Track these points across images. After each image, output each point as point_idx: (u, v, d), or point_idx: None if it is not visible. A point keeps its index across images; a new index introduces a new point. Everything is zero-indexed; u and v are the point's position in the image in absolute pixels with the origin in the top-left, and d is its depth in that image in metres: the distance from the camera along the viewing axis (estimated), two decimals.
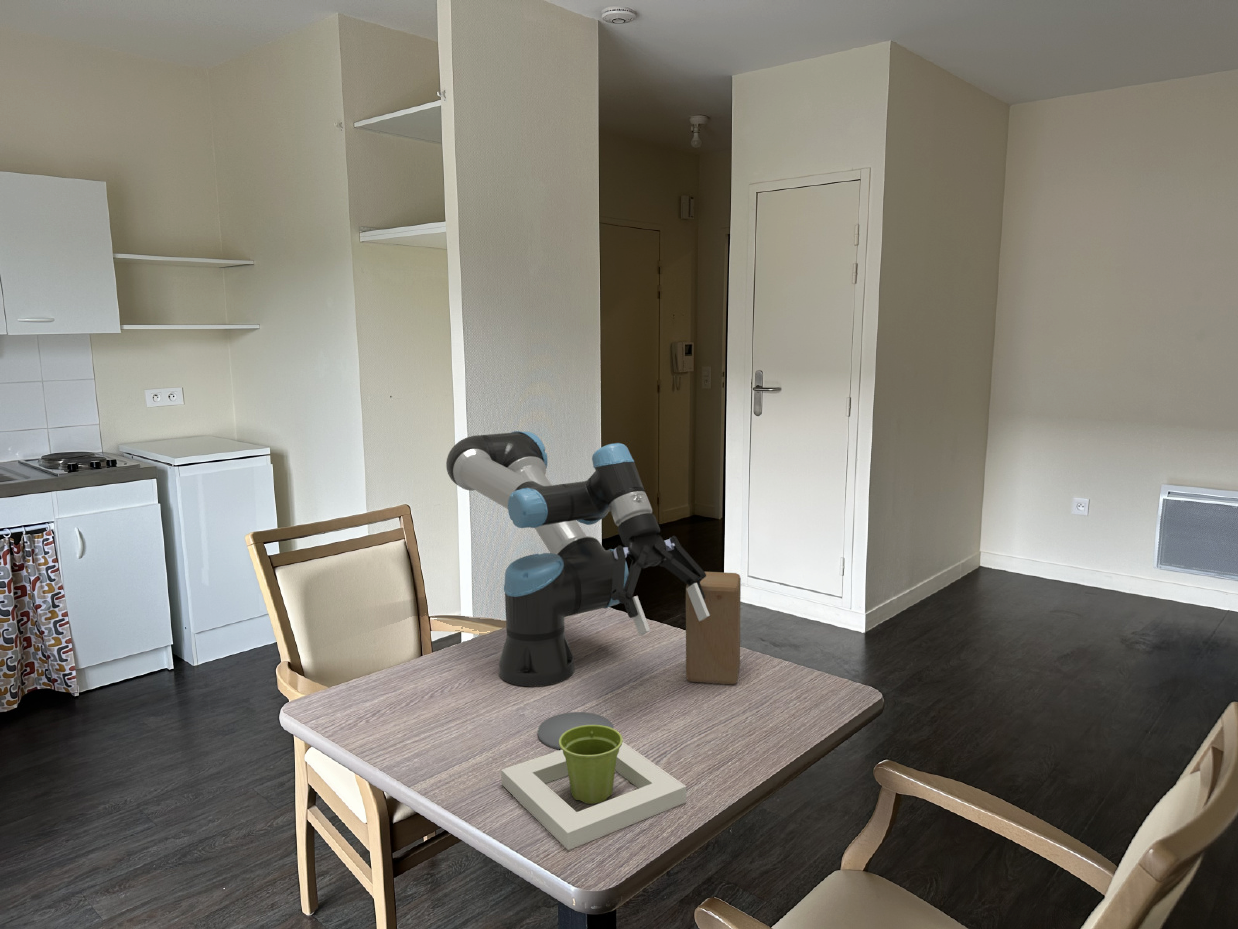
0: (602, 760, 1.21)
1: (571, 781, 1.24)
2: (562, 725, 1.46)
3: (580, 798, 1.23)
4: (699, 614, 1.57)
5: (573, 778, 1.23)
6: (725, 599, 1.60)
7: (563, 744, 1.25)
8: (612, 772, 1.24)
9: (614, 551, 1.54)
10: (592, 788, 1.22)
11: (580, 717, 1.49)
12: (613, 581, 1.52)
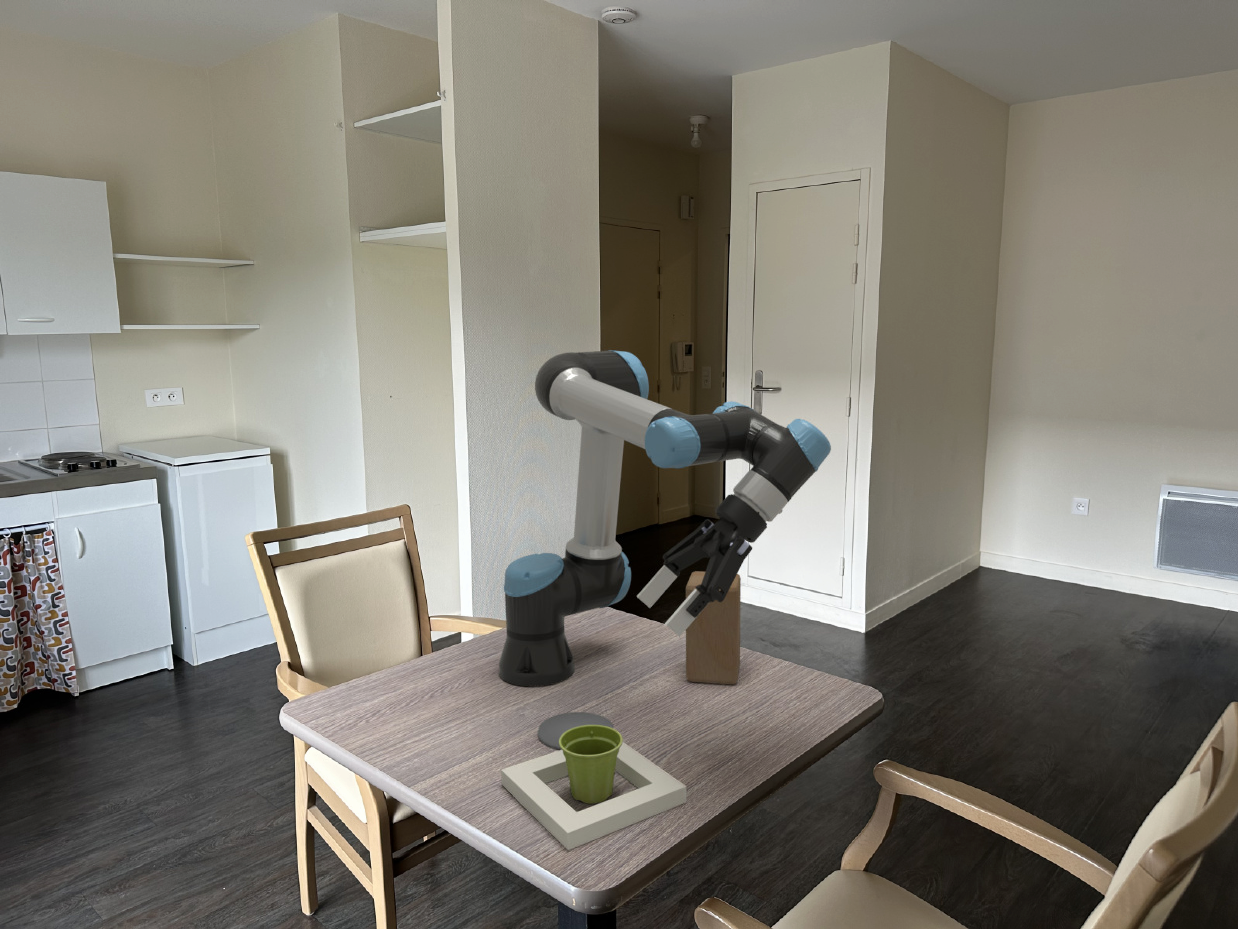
0: (602, 760, 1.21)
1: (571, 781, 1.24)
2: (562, 725, 1.46)
3: (580, 798, 1.23)
4: (646, 596, 1.31)
5: (573, 778, 1.23)
6: (725, 599, 1.60)
7: (563, 744, 1.25)
8: (612, 772, 1.24)
9: (746, 545, 1.20)
10: (592, 788, 1.22)
11: (580, 717, 1.49)
12: (723, 574, 1.17)
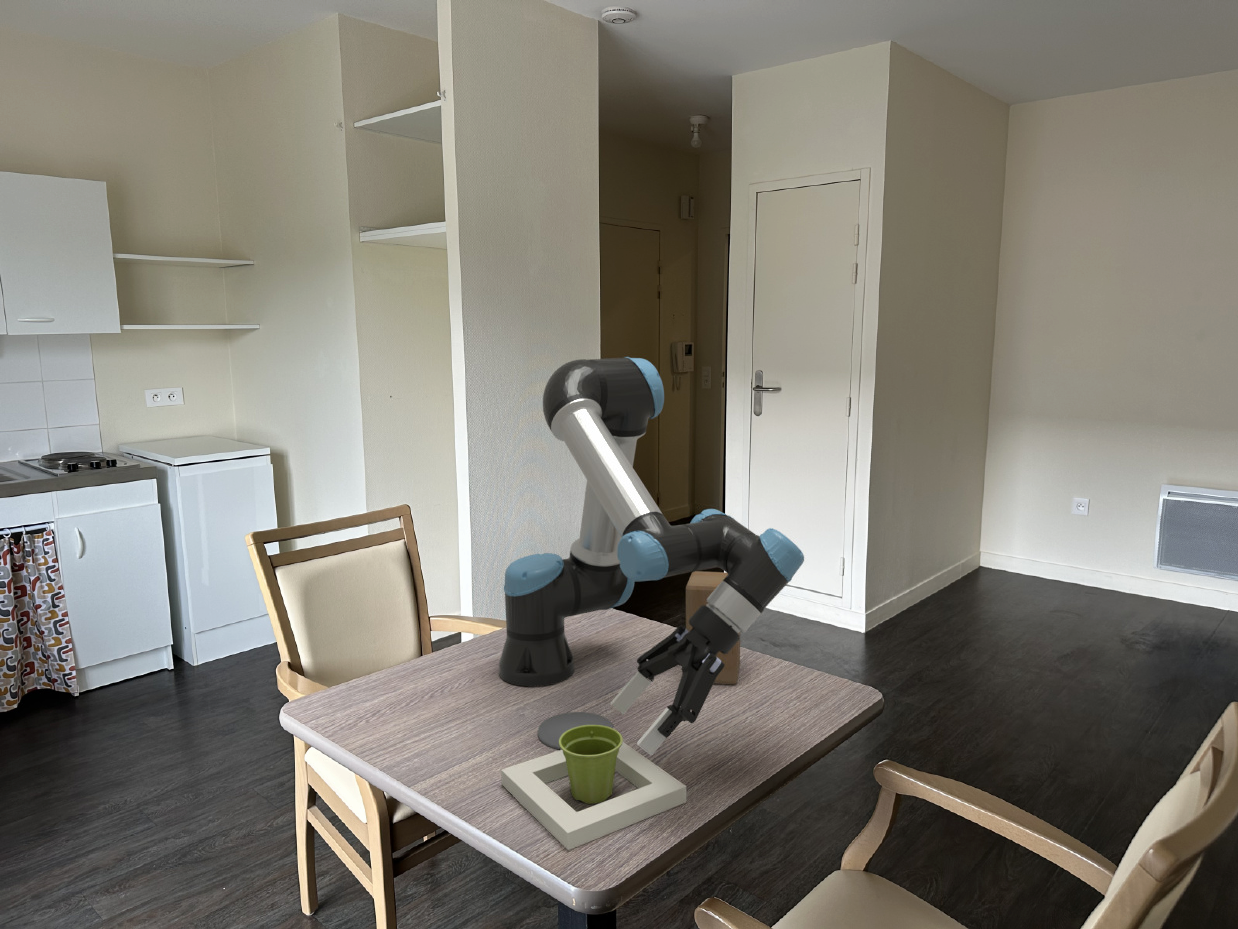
0: (602, 760, 1.21)
1: (571, 781, 1.24)
2: (562, 725, 1.46)
3: (580, 798, 1.23)
4: (619, 703, 1.31)
5: (573, 778, 1.23)
6: None
7: (563, 744, 1.25)
8: (612, 772, 1.24)
9: (718, 663, 1.20)
10: (592, 788, 1.22)
11: (580, 717, 1.49)
12: (695, 694, 1.17)
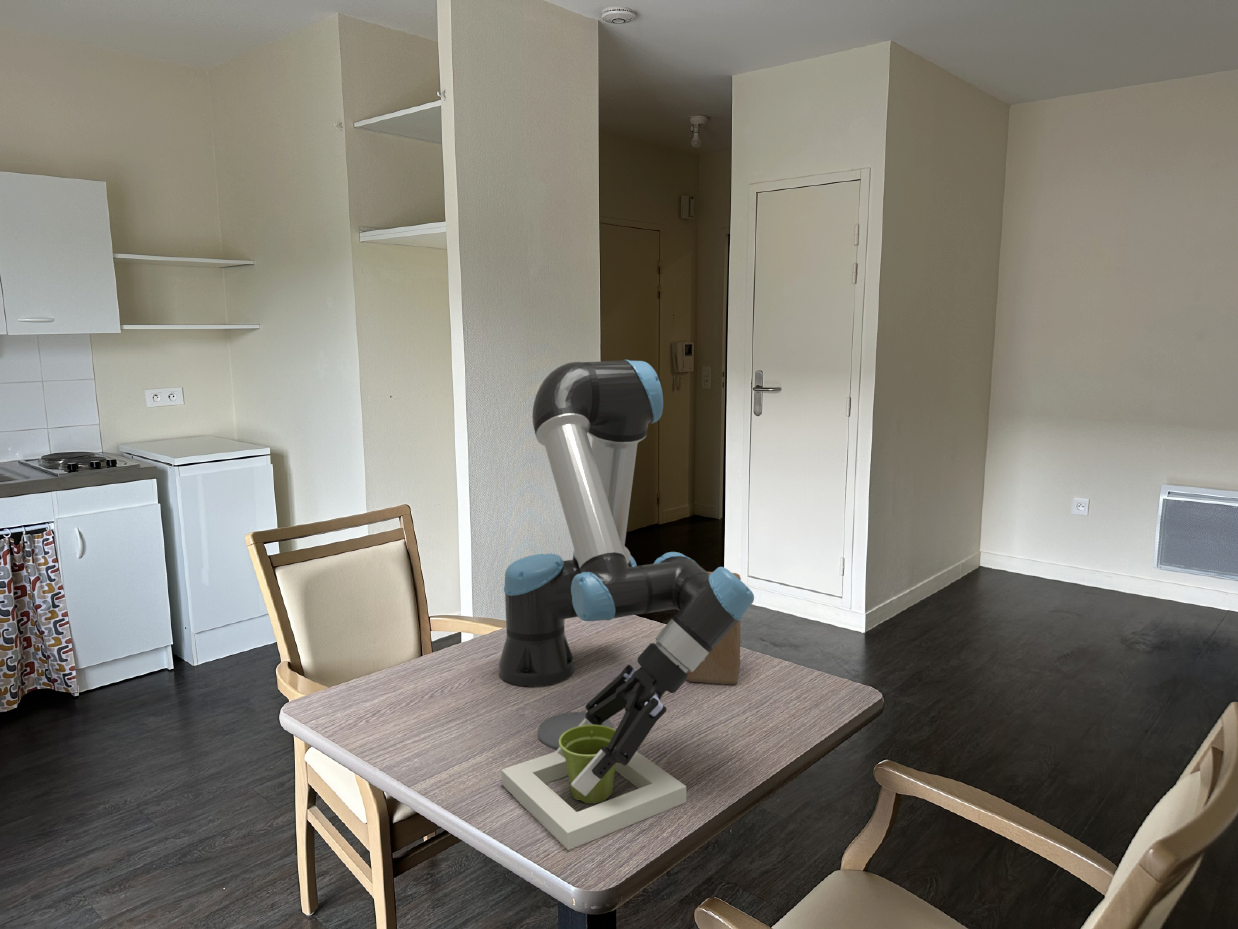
0: None
1: (571, 781, 1.24)
2: (562, 725, 1.46)
3: (580, 798, 1.23)
4: None
5: (573, 778, 1.23)
6: None
7: (563, 744, 1.25)
8: (612, 772, 1.24)
9: (659, 708, 1.19)
10: None
11: (580, 717, 1.49)
12: (630, 738, 1.18)
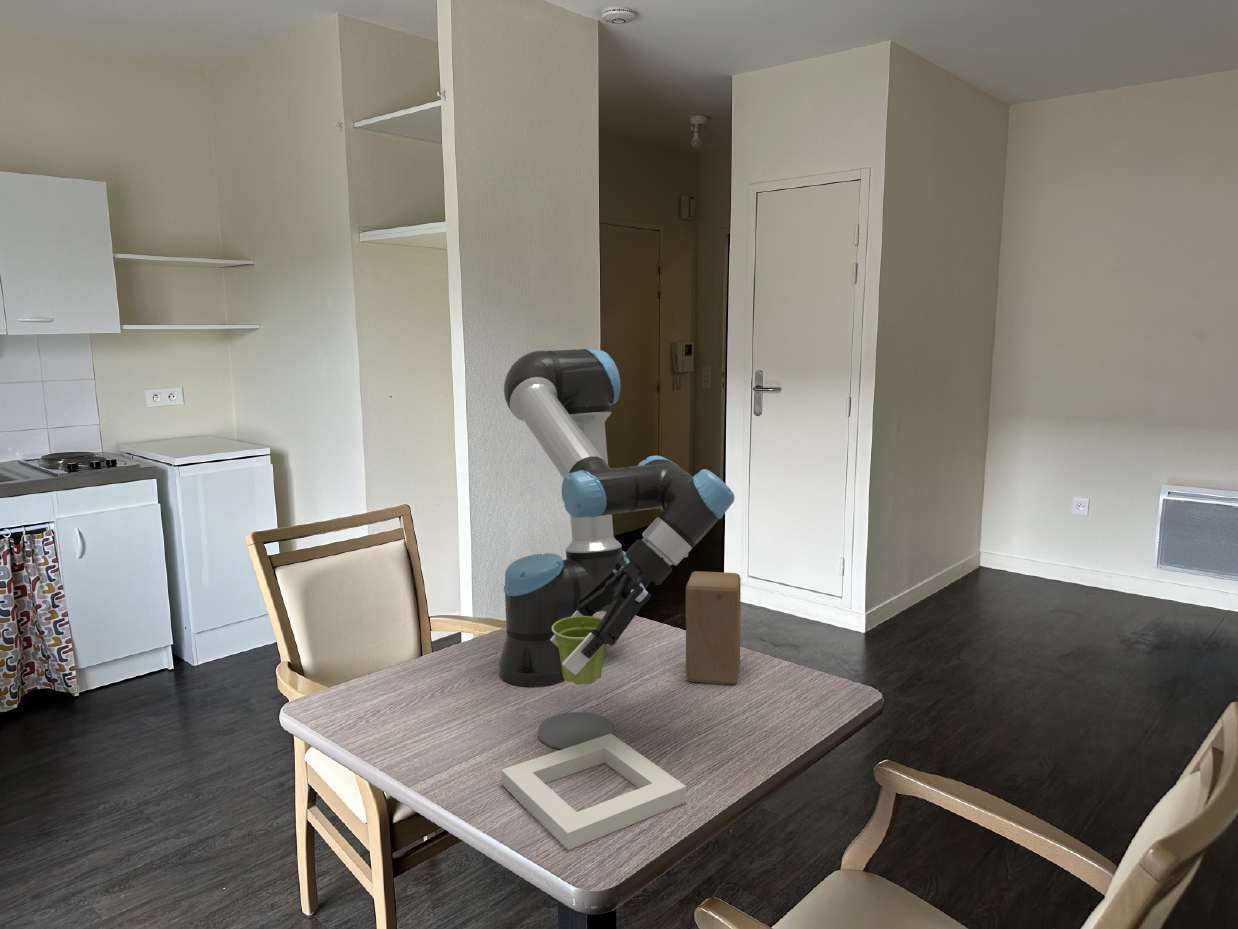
0: None
1: None
2: (562, 725, 1.46)
3: (571, 679, 1.33)
4: None
5: None
6: (725, 599, 1.60)
7: (556, 631, 1.35)
8: (601, 656, 1.34)
9: (644, 594, 1.29)
10: (582, 669, 1.32)
11: (580, 717, 1.49)
12: (617, 621, 1.28)
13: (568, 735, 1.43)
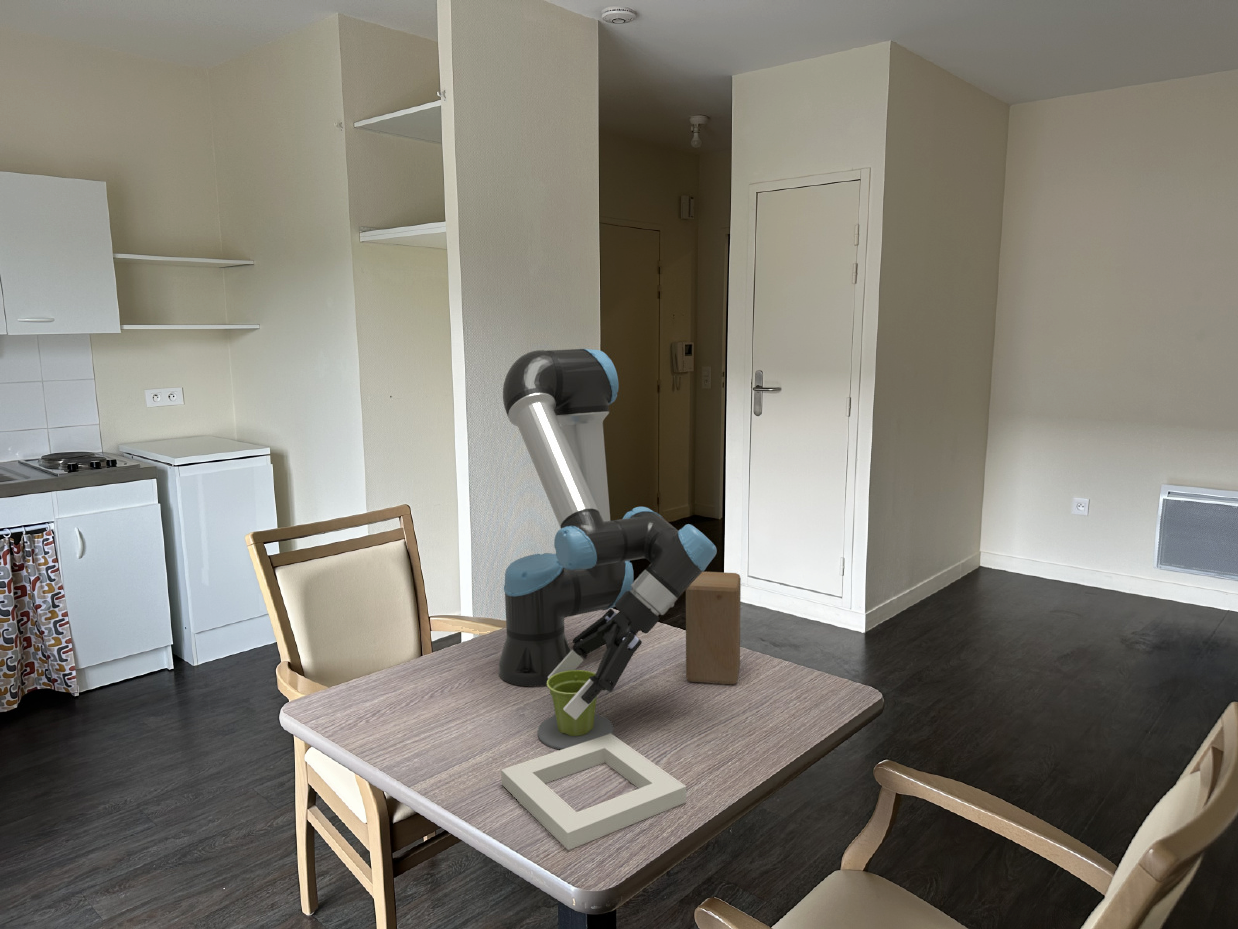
0: None
1: (557, 717, 1.43)
2: None
3: (565, 731, 1.43)
4: None
5: (559, 714, 1.42)
6: (725, 599, 1.60)
7: (550, 685, 1.45)
8: (593, 709, 1.43)
9: (635, 641, 1.38)
10: (575, 722, 1.42)
11: None
12: (613, 667, 1.36)
13: (568, 735, 1.43)
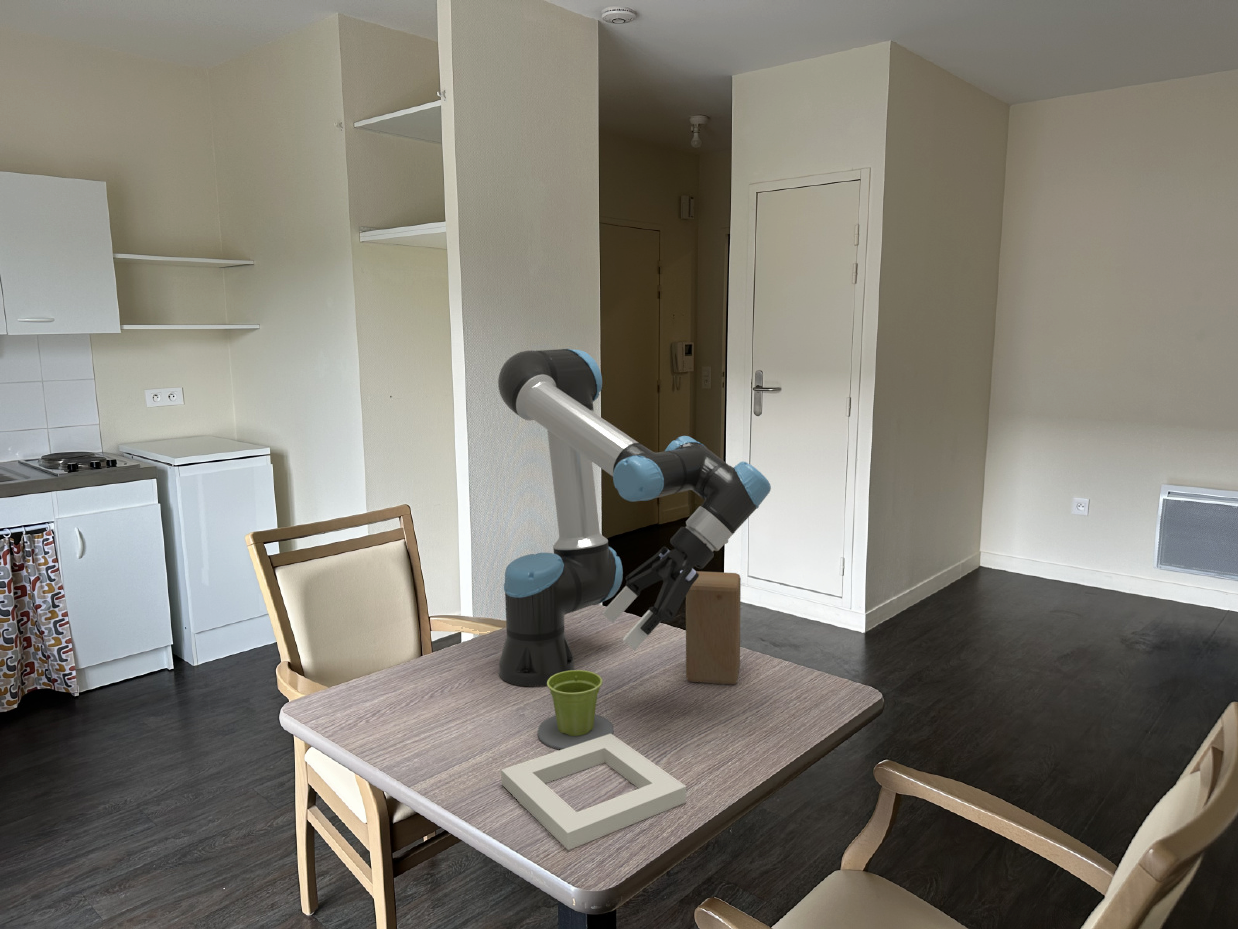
0: (583, 698, 1.40)
1: (557, 717, 1.43)
2: None
3: (565, 731, 1.43)
4: (610, 612, 1.51)
5: (559, 714, 1.42)
6: (725, 599, 1.60)
7: (551, 685, 1.45)
8: (593, 709, 1.43)
9: (693, 573, 1.40)
10: (575, 722, 1.42)
11: None
12: (672, 598, 1.37)
13: (568, 735, 1.43)
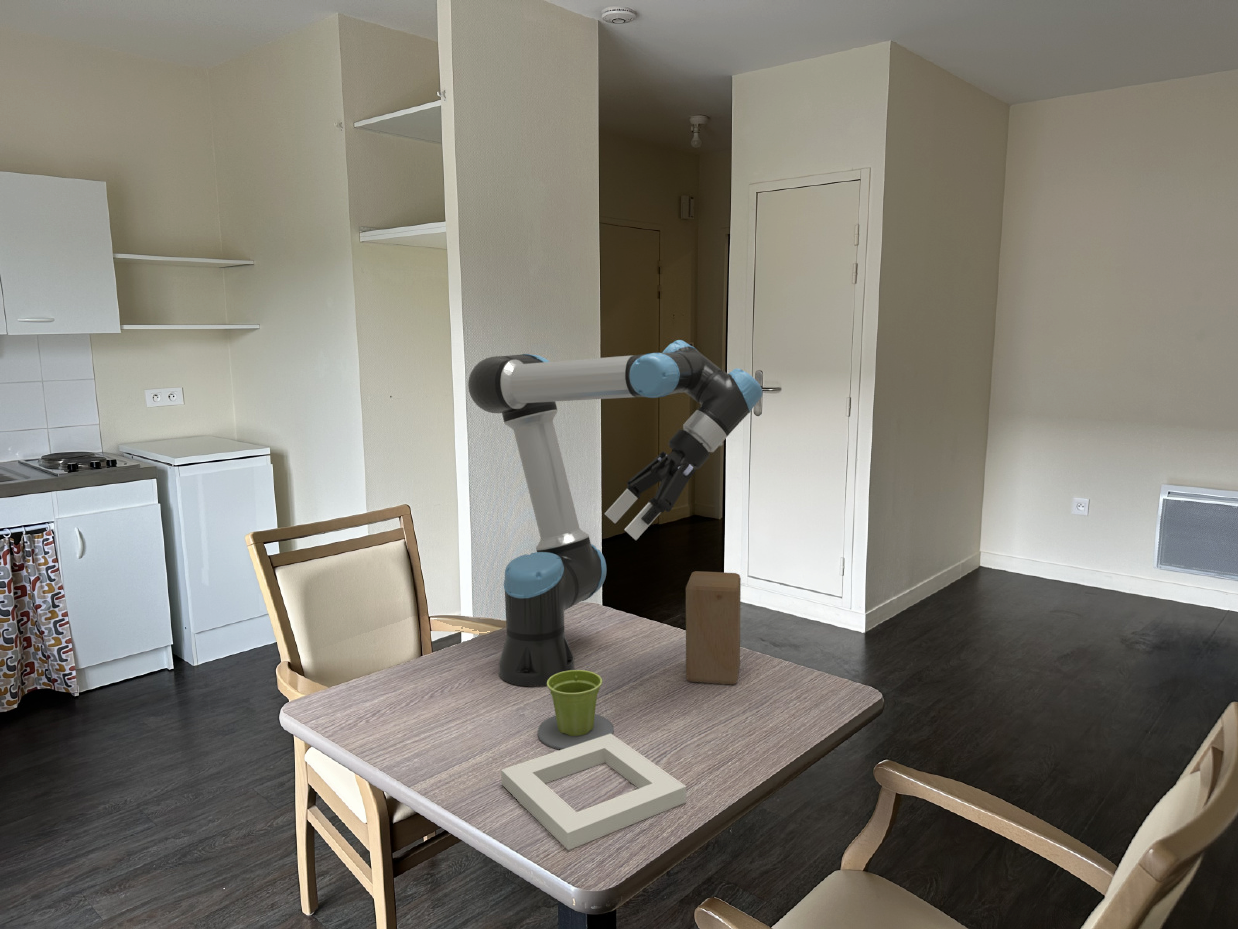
0: (583, 698, 1.40)
1: (557, 717, 1.43)
2: None
3: (565, 731, 1.43)
4: (612, 513, 1.60)
5: (559, 714, 1.42)
6: (725, 599, 1.60)
7: (550, 685, 1.45)
8: (593, 709, 1.43)
9: (690, 468, 1.49)
10: (575, 722, 1.42)
11: None
12: (671, 490, 1.47)
13: (568, 735, 1.43)
